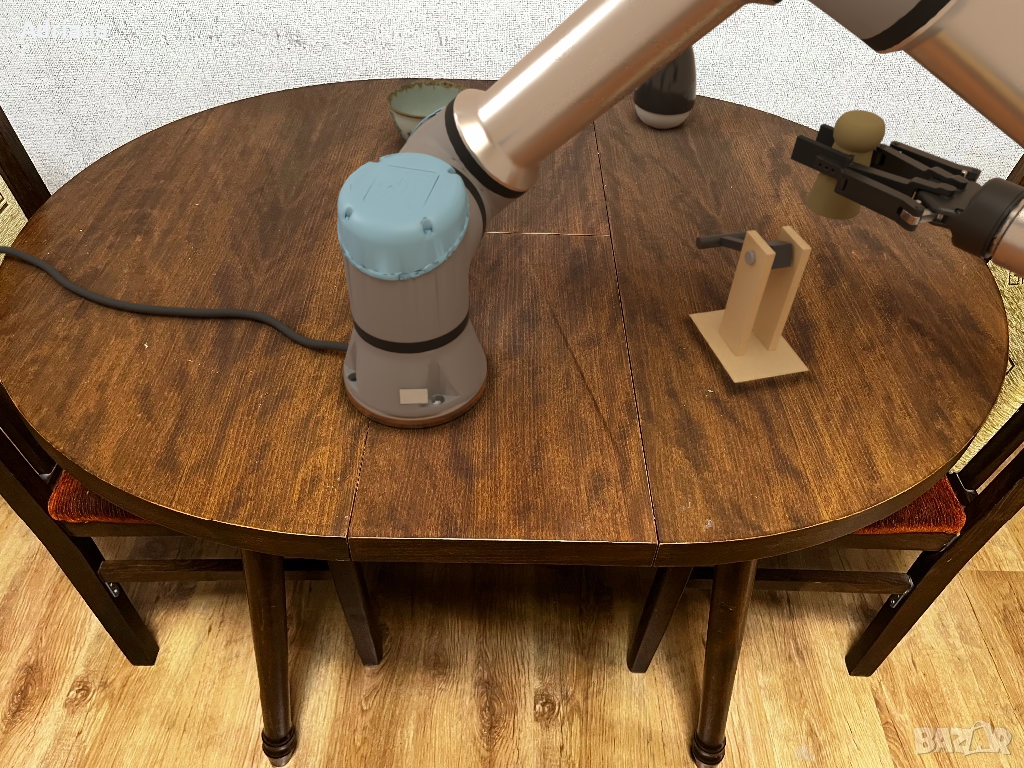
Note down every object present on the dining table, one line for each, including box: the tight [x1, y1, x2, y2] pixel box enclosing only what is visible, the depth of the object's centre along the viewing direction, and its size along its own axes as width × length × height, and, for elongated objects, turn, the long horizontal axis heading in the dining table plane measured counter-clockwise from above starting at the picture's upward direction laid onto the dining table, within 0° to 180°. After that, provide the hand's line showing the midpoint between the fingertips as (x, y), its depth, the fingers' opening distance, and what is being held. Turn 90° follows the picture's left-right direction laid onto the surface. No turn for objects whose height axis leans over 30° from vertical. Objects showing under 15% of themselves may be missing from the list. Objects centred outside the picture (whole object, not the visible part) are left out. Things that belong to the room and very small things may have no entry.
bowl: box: [385, 79, 469, 142], centre depth 119 cm, size 14×13×8 cm
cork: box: [805, 109, 886, 221], centre depth 85 cm, size 6×6×11 cm
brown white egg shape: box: [632, 45, 697, 130], centre depth 125 cm, size 10×10×15 cm
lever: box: [695, 230, 792, 269], centre depth 84 cm, size 13×6×2 cm, turn 15°
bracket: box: [688, 225, 812, 384], centre depth 83 cm, size 12×9×15 cm
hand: (807, 141), depth 88 cm, fingers closed on cork, 4 cm apart
